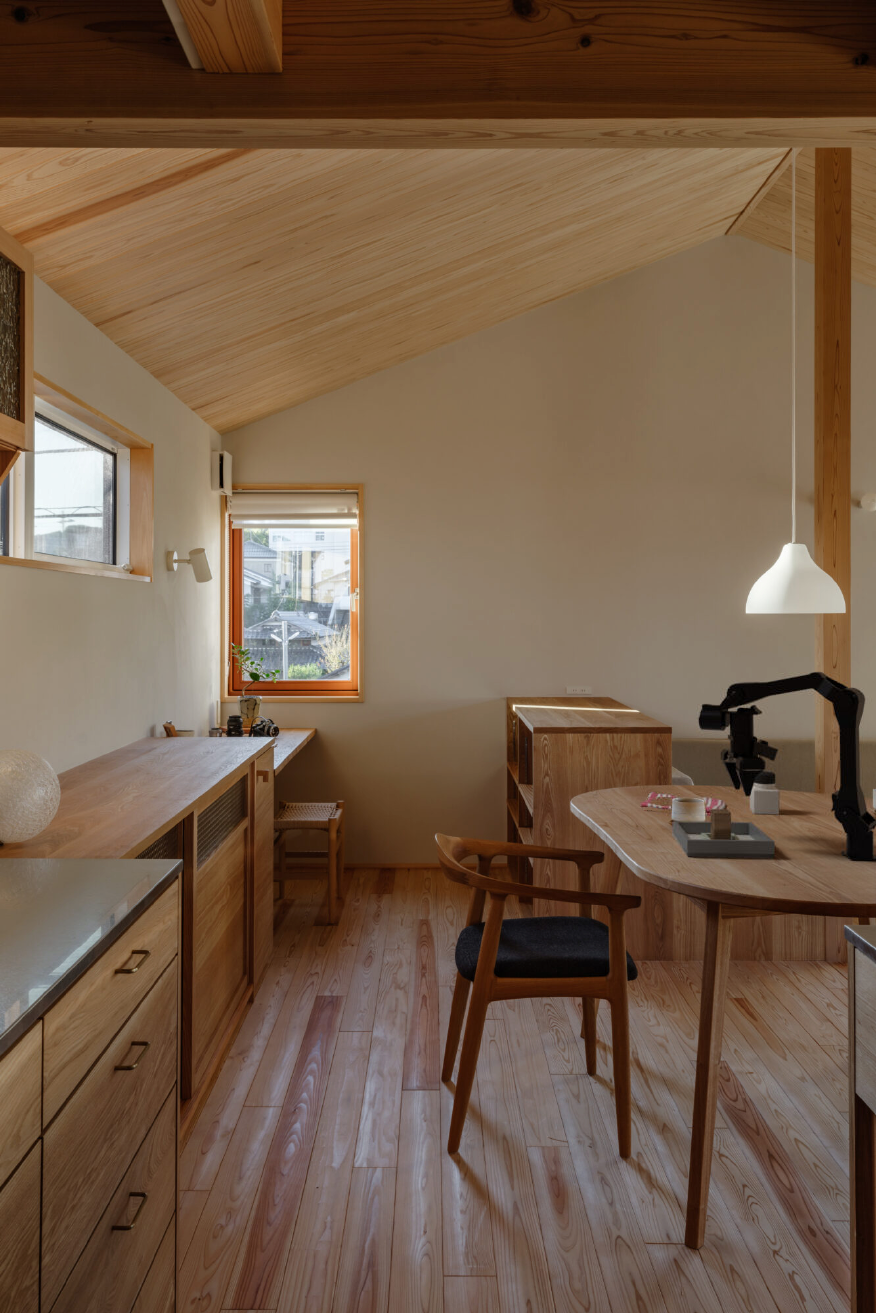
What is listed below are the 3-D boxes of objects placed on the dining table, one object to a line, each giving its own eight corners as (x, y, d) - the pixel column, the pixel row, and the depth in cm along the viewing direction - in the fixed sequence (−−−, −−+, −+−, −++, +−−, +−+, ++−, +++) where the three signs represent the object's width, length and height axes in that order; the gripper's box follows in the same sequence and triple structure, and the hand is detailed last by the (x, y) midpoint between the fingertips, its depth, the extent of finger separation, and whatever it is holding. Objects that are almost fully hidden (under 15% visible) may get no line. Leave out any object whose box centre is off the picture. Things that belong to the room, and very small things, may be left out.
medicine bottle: (779, 814, 244) (779, 773, 243) (753, 814, 245) (753, 773, 245) (774, 809, 251) (774, 769, 250) (749, 809, 252) (749, 769, 252)
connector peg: (731, 844, 206) (731, 812, 206) (714, 844, 207) (714, 812, 206) (727, 840, 210) (727, 809, 210) (710, 840, 211) (710, 809, 210)
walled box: (774, 858, 197) (774, 841, 197) (687, 856, 200) (687, 840, 199) (751, 837, 217) (751, 822, 217) (672, 836, 219) (672, 821, 219)
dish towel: (649, 801, 268) (649, 790, 268) (726, 806, 258) (726, 795, 258) (639, 812, 252) (639, 800, 252) (721, 818, 243) (721, 806, 243)
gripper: (786, 735, 204) (787, 799, 204) (762, 727, 223) (763, 786, 223) (739, 736, 205) (740, 799, 205) (719, 728, 223) (720, 786, 224)
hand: (742, 792), depth 214 cm, fingers open, 9 cm apart
